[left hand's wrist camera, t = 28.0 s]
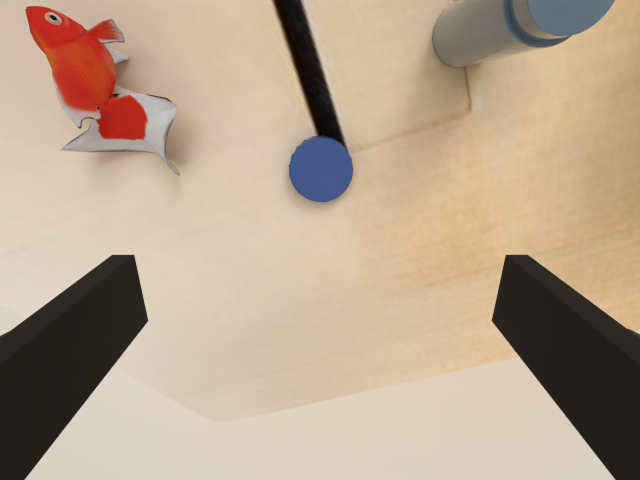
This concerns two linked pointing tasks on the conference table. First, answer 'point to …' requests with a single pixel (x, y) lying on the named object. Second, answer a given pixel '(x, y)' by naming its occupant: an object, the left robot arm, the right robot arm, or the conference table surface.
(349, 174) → the lid
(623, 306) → the conference table surface
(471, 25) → the jar
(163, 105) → the fish
